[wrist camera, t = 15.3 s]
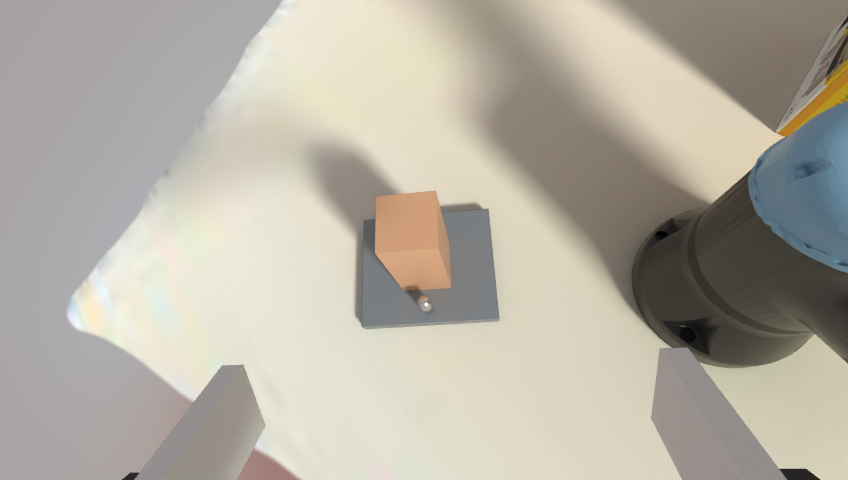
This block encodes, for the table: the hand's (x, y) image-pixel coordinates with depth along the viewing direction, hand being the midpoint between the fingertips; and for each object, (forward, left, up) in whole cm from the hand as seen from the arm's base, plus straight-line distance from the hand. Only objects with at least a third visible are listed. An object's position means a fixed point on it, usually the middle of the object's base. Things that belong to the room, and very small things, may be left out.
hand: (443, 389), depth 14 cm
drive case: (+4, -13, -28) cm, 31 cm away
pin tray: (+4, -13, -30) cm, 33 cm away
